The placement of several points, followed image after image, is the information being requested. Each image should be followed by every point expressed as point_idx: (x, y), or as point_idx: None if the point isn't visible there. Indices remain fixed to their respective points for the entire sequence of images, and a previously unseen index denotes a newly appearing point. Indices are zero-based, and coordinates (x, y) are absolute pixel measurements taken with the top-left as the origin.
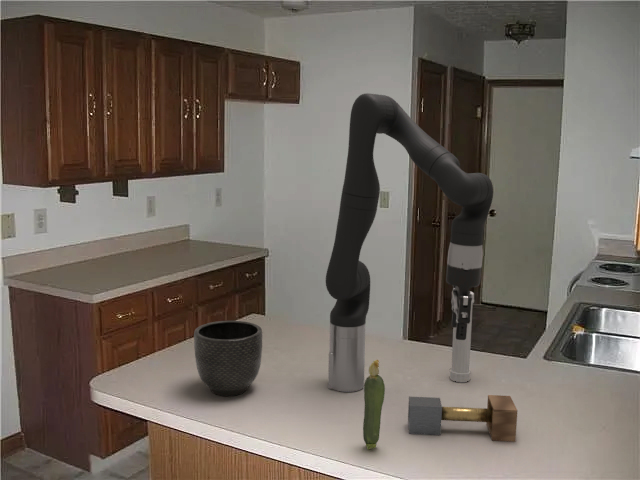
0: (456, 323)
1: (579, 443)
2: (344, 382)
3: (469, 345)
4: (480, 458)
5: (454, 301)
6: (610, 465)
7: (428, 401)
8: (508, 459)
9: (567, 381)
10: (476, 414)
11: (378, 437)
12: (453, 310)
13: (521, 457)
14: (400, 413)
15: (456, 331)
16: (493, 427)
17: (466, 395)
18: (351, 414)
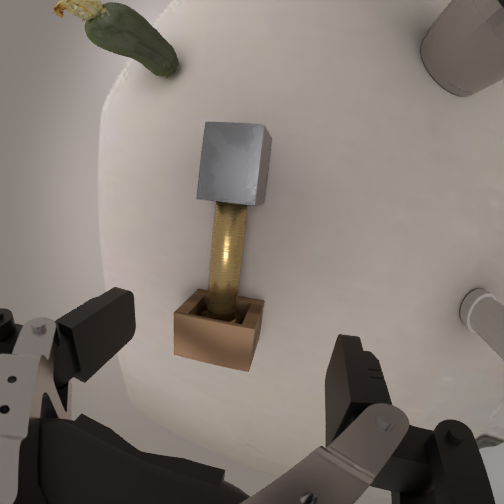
0: (334, 368)
1: (199, 403)
2: (427, 41)
3: (500, 356)
4: (138, 248)
5: (11, 432)
6: (146, 401)
7: (231, 171)
8: (139, 290)
9: None
10: (209, 279)
11: (156, 74)
12: (365, 412)
13: (147, 312)
14: (324, 132)
15: (92, 301)
16: (189, 298)
17: (406, 301)
18: (315, 41)
